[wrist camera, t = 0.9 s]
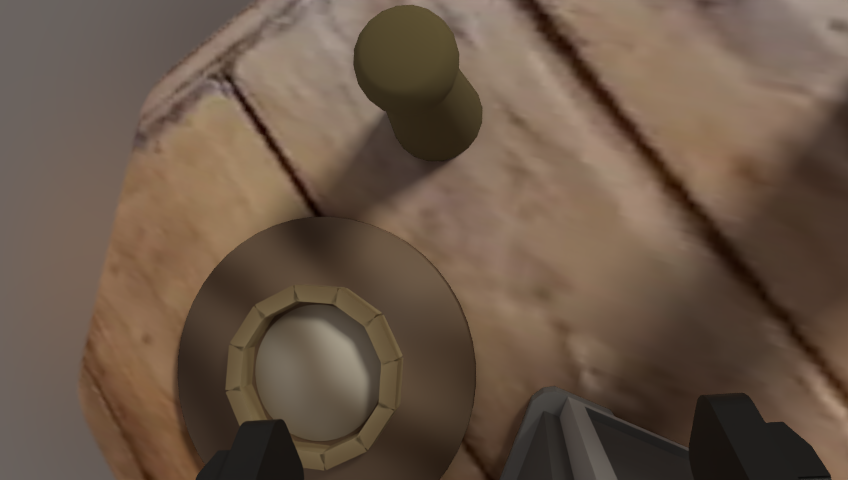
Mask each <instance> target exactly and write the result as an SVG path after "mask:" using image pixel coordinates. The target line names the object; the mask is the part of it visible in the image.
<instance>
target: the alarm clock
mask: <svg viewBox="0 0 848 480" xmlns="http://www.w3.org/2000/svg"><path fill="white" fill-rule="evenodd" d="M500 480H694V478H693V474H692V471H691V466H690V461H689V448H688V447H685V446H683V445H681V444H678V443H676V442H674V441H671V440H669V439H667V438H664V437H662V436H659V435H657V434H655V433H652V432H650V431H648V430H645V429H643V428H641V427H638V426H636V425H634V424H631V423H629V422H627V421H624V420H622V419H620V418H617V417H615V416H614V415H613V413H612V412H611V410H610V409H607V408H605V407H602V406H600V405H598V404H595V403H593V402H591V401H588V400H586V399H584V398H581V397H579V396H577V395H574V394H572V393H570V392H567V391H565V390H562V389H560V388H558V387H555V386H552V387H544V388H542V389H540V390H539V391H538V392H536V393H535V394H534V395H532V397H531V400H530V403H529V405H528V408H527V410H526V413H525V415H524V418H523V421H522V423H521V426H520V428H519V431H518V433H517V436H516V439H515V441H514V444H513V446H512V449H511V451H510V454H509V456H508V459H507V462H506V464H505V467H504V469H503V472H502V474H501V477H500Z"/></svg>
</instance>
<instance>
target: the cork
mask: <svg viewBox="0 0 848 480" xmlns="http://www.w3.org/2000/svg"><path fill="white" fill-rule="evenodd" d="M353 65H354V70H355V74H356V77H357V81H358V84H359V86H360V87H361V89H362V90H363V92H364V93H365V95H366V96H367V98H368V99H369V100H370V101H371V102H373V103H374V104H375V105H377V106H378V107H379V108H381V109H382V110H384V111H386V112H387V115H388V117H389V120H390V123H391V125H392V128H393V130H394V133H395V136H396V138H397V139H398V141H399V142H400V144H401V145H402V147H403V148H404V149H405V150H407V151H408V152H409V153H411V154H412V155H413V156H415V157H417V158H420V159H423V160H427V161H444V160H447V159H450V158H453V157H456V156H457V155H459V154H460V153H462V152H463V151H464V150H466V149H467V148H468V147H469V146H470V145H471V143H472V142H473V141H474V140H475V138H476V137H477V135H478V132H479V129H480V126H481V124H482V105H481V102H480V99H479V95H478V94H477V92H476V91H475V89H474V88H473V87H472V85H471V84H470V83H469V81H468V80H467V79H466V77H465V76H464V75H463V73H462V72H461V71H460V69H459V51H458V48H457V44H456V41H455V38H454V34H453V33H452V31H451V30H450V28H449V27H448V26H447V24H446V23H445V22H444V20H442V19H441V18H440V17H439V16H437V15H436V14H434V13H433V12H431V11H430V10H428V9H426V8H422V7H419V6H415V5H402V6H395V7H392V8H390V9H387V10H384V11H382V12H381V13H379V14H378V15H377V16H375V17H374V18H373V19H371V20H370V21H369V22H368V23H367V25H366V26H365V27H364V29H363V30H362V32H361V33H360V34H359V37H358V40H357V43H356V45H355V48H354V64H353Z"/></svg>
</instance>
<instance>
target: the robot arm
mask: <svg viewBox="0 0 848 480" xmlns="http://www.w3.org/2000/svg"><path fill="white" fill-rule="evenodd" d="M689 461H690V466H691V471H692V474H693V478H694V480H831V475H830V474H829V472H828V470H827V469H826V467H825V466H824V464H823V463H822V461H821V460H820V458H819V457H818V455H817V454H816V452H815V451H814V449H813V447H812V446H811V445H810V444H808V443H807V442H806V441H805V440H804V439H803V438H801V437H800V436H799V435H798V434H797V433H795V432H794V431H793V430H792V429H791V428H790V427H788V426H787V425H786V424H785V423H784V422H770V423H765V421H764V420H763V418H762V416H761V415H760V413H759V411H758V410H757V408H756V406H755V405H754V403H753V401H752V400H751V399H750V397H749V396H747V395H746V394H744V393H732V394H716V395H701V396H699V398H698V400H697V405H696V410H695V415H694V421H693V426H692V432H691V437H690V442H689ZM196 480H304V470H303V465H302V462H301V460H300V457H299V455H298V452H297V450H296V447H295V445H294V443H293V440H292V438H291V435H290V433H289V430H288V428H287V425H286V423H285V422H284V420H282V419H271V420H254V421H245V422H243V423H242V424H241V426H240V428H239V430H238V432H237V434H236V437H235V439H234V442H233V444H232V447H231V449H230V450H219V451H217V452H216V453H215V455H214V456H213V457H212V458H211V459H210V460H209V462H208V463H207V464H206V465H205V466H204V468H203V469H202V470H201V471H200V472H199V474H198V475H197V477H196Z"/></svg>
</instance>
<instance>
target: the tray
mask: <svg viewBox="0 0 848 480" xmlns="http://www.w3.org/2000/svg"><path fill="white" fill-rule="evenodd" d="M178 387H179V398H180V402H181V407H182V412H183V417H184V420H185V423H186V426H187V429H188V432H189V435H190V437H191V439H192V441H193V444H194V446H195V448H196V450H197V452H198V454H199V456H200V457H201V459H202V460H203V462H204V464H205V465H206V464H207V463H208V462H209V460H210V459H211V458H212V457H213V456H214V455H215V453H216V452H217V451H219V450H230V449H231V447H232V444H233V442H234V439H235V437H236V434H237V432H238V430H239V428H240V426H241V424H242V423H243V422H245V421H254V420H271V419H282V420H284V422H285V423H286V425H287V428H288V430H289V433H290V435H291V438H292V440H293V443H294V445H295V447H296V450H297V452H298V455H299V457H300V460H301V462H302V465H303V470H304V480H439V479H440V478H441V477H442V475H443V474H444V473H445V471H446V470H447V469H448V467H449V465H450V463H451V462H452V460H453V458H454V456H455V455H456V453H457V451H458V449H459V447H460V444H461V442H462V439H463V437H464V434H465V432H466V429H467V427H468V424H469V420H470V416H471V412H472V408H473V403H474V395H475V387H476V362H475V354H474V347H473V341H472V337H471V334H470V330H469V326H468V322H467V320H466V317H465V315H464V313H463V310H462V308H461V305H460V303H459V301H458V299H457V298H456V296H455V294H454V292H453V291H452V289H451V287H450V285H449V284H448V283H447V281H446V280H445V279H444V277H443V276H442V275H441V273H440V272H439V271H438V270H437V268H436V267H435V266H434V265H433V264H432V263H431V262H430V261H429V260H428V259H427V258H426V257H425V256H424V255H423V254H421V253H420V252H419V251H418V250H416V249H415V248H414V247H412V246H411V245H410V244H409V243H407V242H405V241H404V240H402V239H400V238H399V237H397V236H395V235H393V234H392V233H390V232H387V231H385V230H382V229H380V228H378V227H375V226H373V225H370V224H366V223H363V222H359V221H355V220H351V219H345V218H336V217H309V218H302V219H296V220H291V221H288V222H284V223H281V224H278V225H274V226H272V227H270V228H268V229H266V230H263V231H261V232H259V233H257V234H255V235H254V236H252V237H251V238H249V239H247V240H246V241H244V242H243V243H241V244H240V245H239V246H237V247H236V248H235V249H234V250H233V251H231V252H230V253H229V254H228V255H227V256H226V257H225V258H224V259H223V260H222V261H221V262H220V263H219V264H218V265H217V266H216V267H215V268H214V270H213V271H212V272H211V274H210V275H209V277H208V278H207V279H206V281H205V282H204V283H203V285H202V287H201V289H200V290H199V292H198V294H197V296H196V298H195V299H194V301H193V304H192V306H191V309H190V311H189V314H188V316H187V319H186V322H185V326H184V329H183V333H182V337H181V342H180V349H179V356H178Z"/></svg>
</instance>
